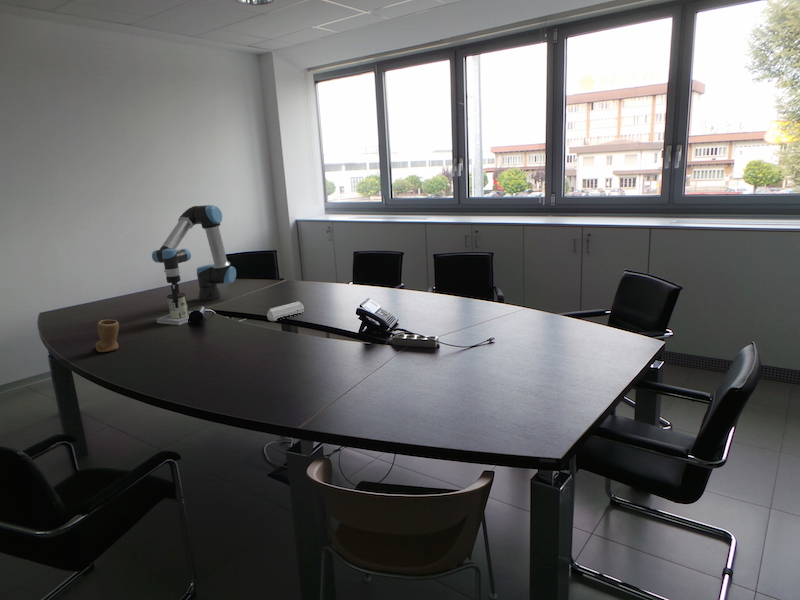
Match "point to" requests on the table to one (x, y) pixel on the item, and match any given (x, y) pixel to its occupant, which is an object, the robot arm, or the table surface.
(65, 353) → the table surface
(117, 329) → the stone cup
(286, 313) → the crystal
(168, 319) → the plate
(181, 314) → the coffee can
